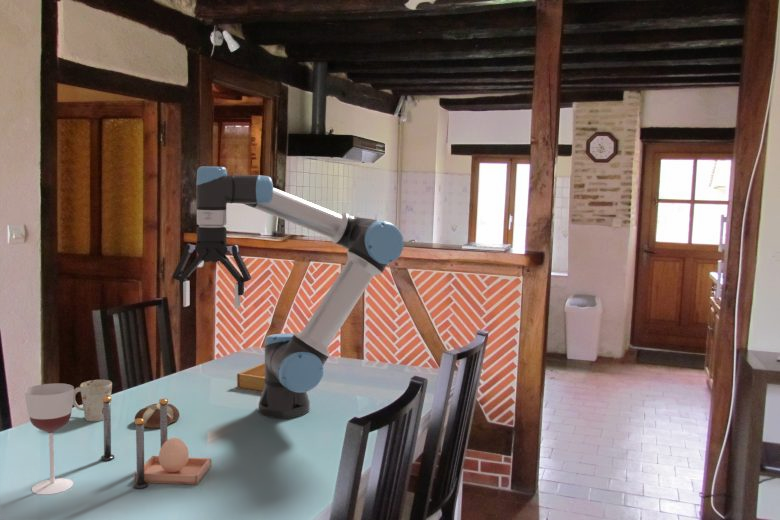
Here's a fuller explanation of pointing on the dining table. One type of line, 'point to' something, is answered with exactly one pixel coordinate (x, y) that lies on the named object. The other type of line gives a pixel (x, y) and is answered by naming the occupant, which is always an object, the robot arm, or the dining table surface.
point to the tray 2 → (252, 378)
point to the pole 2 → (140, 454)
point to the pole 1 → (107, 429)
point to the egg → (173, 455)
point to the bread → (157, 415)
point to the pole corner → (163, 420)
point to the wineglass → (50, 424)
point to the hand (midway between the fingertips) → (212, 306)
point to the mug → (93, 398)
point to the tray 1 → (187, 475)
